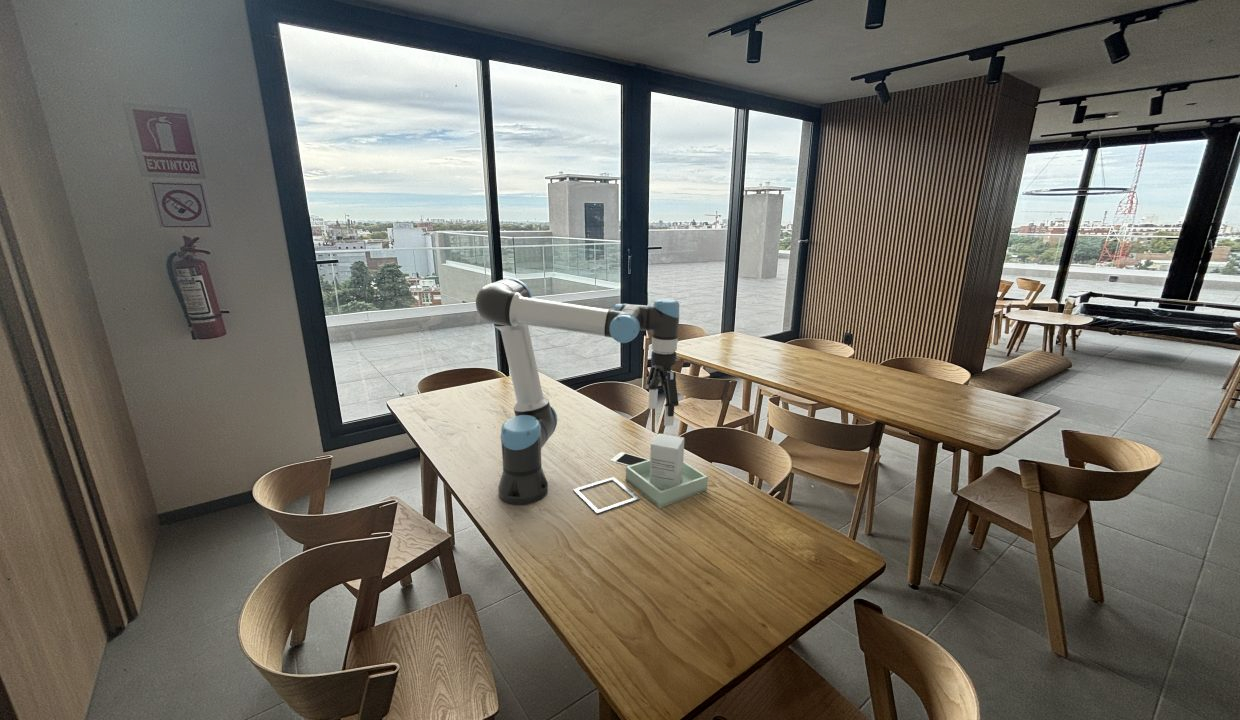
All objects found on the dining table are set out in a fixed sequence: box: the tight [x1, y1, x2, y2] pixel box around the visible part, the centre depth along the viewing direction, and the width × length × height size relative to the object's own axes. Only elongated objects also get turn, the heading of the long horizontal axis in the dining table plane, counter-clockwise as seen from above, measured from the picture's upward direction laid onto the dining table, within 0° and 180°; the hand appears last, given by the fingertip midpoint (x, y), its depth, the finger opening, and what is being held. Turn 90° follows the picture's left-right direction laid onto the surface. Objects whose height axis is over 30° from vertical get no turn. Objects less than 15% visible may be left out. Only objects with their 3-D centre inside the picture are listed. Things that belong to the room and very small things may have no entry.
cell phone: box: [610, 451, 650, 467], centre depth 173 cm, size 8×16×1 cm, turn 60°
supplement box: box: [649, 433, 685, 490], centre depth 156 cm, size 9×9×15 cm
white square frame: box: [573, 476, 640, 515], centre depth 152 cm, size 15×15×1 cm
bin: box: [625, 459, 709, 509], centre depth 158 cm, size 19×19×5 cm
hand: (660, 416), depth 153 cm, fingers open, 13 cm apart
